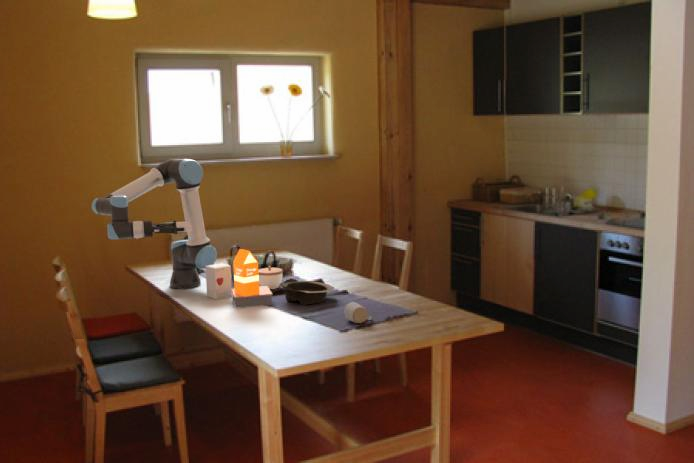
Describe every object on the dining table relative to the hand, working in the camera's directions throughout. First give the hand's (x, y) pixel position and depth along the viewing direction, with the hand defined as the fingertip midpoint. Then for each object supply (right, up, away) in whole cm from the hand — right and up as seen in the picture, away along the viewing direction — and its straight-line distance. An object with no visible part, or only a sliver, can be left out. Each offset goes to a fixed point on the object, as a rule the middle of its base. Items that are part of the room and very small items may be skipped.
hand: (191, 226), depth 364 cm
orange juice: (+26, -31, -4) cm, 40 cm away
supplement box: (+11, -33, +13) cm, 37 cm away
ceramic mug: (+76, -40, -37) cm, 93 cm away
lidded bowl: (+34, -30, +26) cm, 52 cm away
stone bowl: (+53, -34, +1) cm, 63 cm away
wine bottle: (-12, -25, +68) cm, 73 cm away
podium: (+28, -35, +1) cm, 44 cm away
